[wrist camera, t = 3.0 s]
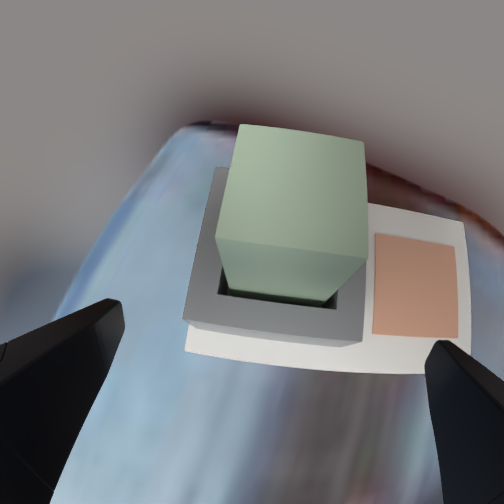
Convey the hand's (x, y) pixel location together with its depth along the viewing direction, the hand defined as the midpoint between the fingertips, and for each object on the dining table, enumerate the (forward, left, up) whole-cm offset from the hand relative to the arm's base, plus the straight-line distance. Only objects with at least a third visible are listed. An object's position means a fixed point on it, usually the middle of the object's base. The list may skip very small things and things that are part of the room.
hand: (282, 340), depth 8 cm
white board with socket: (+7, -2, -12) cm, 14 cm away
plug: (+5, +3, -11) cm, 12 cm away
